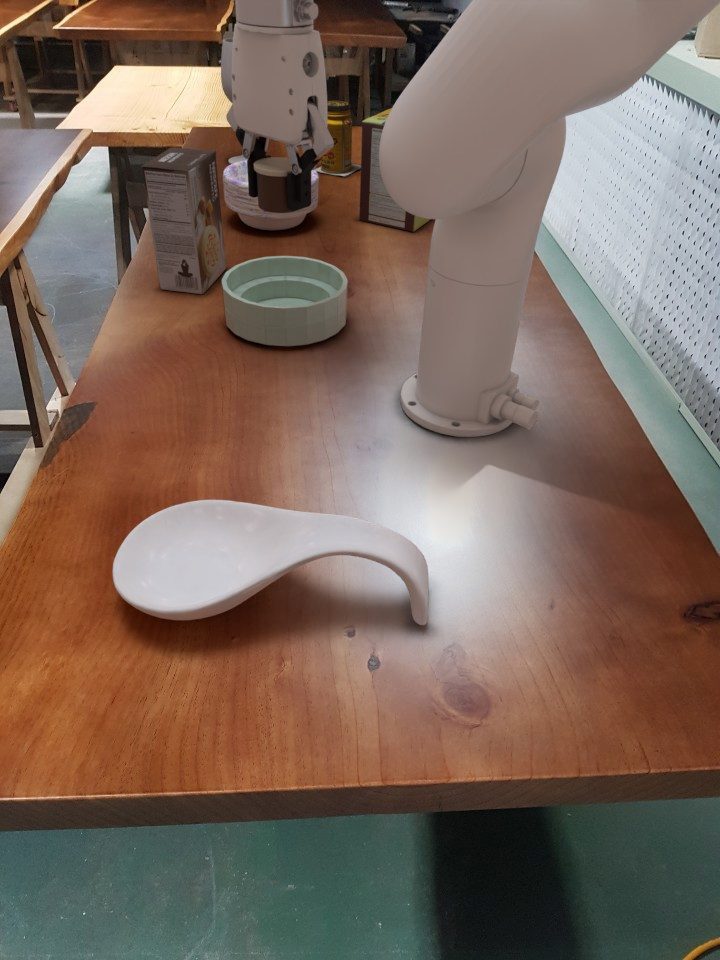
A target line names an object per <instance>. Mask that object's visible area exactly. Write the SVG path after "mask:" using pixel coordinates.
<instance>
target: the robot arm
mask: <svg viewBox="0 0 720 960" xmlns="http://www.w3.org/2000/svg"><path fill="white" fill-rule="evenodd" d="M234 5H235V7H234V8H235V23H234V27H233V36H232V38H233V47H232V99H233V104H232V103H231V105H230V108H229V109H228V111H227V113H226V115H225V116H226V117H225V118H226V121H227V123H228V124H229V126H230V127H231V129H232V131H233V132H234V133H235V137H236V139H237V141H238V142H239V144H240V146H241V147H242V149H241V155H242V154H243V157H244V158H245V159H248V160H247V169H248V188H249V196H250V197H253V198H255V197H258V186H257V172H256V171H255V170H254V163H255V162H256V161H257V160H260V159H264V158H272V155H269V154H267V153H268V150H269V145H270V141H271V140H272V141H276V142H280V143H283V144H284V145H285V150H286V154H287V158H289V163H290V167H291V171H292V172H290V173H287V207H288V210H290V211H293V212H294V211H297V210H300V209H303V208H306V207H309V206H310V205H311V170H315V169H317V166H318V164H319V162H321V159H322V158H323V156H324V155H325V154H326V153H327V152H328V151H330V150H331V149H332V148H333V146H334V141H333V138H332V137H331V135H330V133H329V131H328V129H327V101H328V91H327V74H326V65H325V55H324V50H323V44H322V39H321V33H320V31H319V30H316V29H314V20H317V18H318V16H319V6H318V4H317V3H315V2H314V0H234ZM719 5H720V0H471V1H470V3H469V4H468V5H467V7H466V8H465V10H463V12H462V13H461V15H460V16H458V18H457V19H456V21H455V22H454V23H453V24H452V26H451V28H450V29H449V30H448V31H447V33H446V34H445V35H444V36H443V38H442V39H441V41H439V43H438V44H437V46H436V47H435V48H434V50H433V51H432V52H431V54H430V55H429V56H428V58H427V59H426V60H425V62H424V63H423V64H422V65H421V67H420V68H419V69H418V70H417V72H416V73H415V75H414V76H413V77H412V78H411V80H410V81H409V83H408V84H407V85H406V86H405V88H404V89H403V91H402V92H401V93H400V95H399V96H398V98H397V99H396V101H395V103H394V104H393V106H392V107H391V108H392V109H391V108H390V109H391V111H390V113H389V115H388V117H387V120H386V122H385V125H384V128H383V131H382V135H381V140H380V147H379V166H380V172H381V176H382V180H383V183H384V185H385V188H386V190H387V191H388V193H389V195H390V196H391V198H392V199H393V200H394V201H395V202H396V203H397V204H398V205H399V206H400V207H401V208H402V209H404V210H405V211H407V212H409V213H411V214H413V215H415V216H418V217H422V218H427V219H430V220H435V221H434V224H433V229H432V234H431V238H430V246H429V253H428V263H427V273H426V283H425V292H424V302H423V312H422V322H421V330H420V331H421V333H420V341H419V351H418V361H417V362H418V363H417V372H416V373H413V374H412V375H411V376H409V377H408V378H407V379H406V380H404V382H403V384H402V386H401V389H400V394H399V395H400V396H399V400H400V406H401V408H402V410H403V412H404V413H405V414H406V415H407V417H408V418H410V419H411V420H412V421H413V422H414V423H416V424H417V425H419V426H421V427H422V428H425V429H427V430H429V431H431V432H434V433H438V434H442V435H445V436H452V437H458V438H477V437H485V436H491V435H493V434H496V433H499V432H502V431H503V430H505V429H506V428H508V427H509V426H511V424H512V423H514V424H516V425H518V426H520V427H522V428H524V429H526V430H529V431H530V430H532V429H533V428H534V426H535V424H536V422H537V421H538V418H539V412H538V411H537V408H538V405H539V399H537V398H535V397H533V396H530V395H528V394H524V393H521V392H520V389H519V388H517V387H518V383H519V378H520V374H518V373H515V372H513V371H511V370H512V366H513V359H514V355H515V350H516V344H517V340H518V336H519V329H520V325H521V319H522V313H523V311H524V304H525V299H526V294H527V288H528V284H529V278H530V273H531V270H532V265H533V260H534V255H535V250H536V246H537V242H538V241H537V240H538V237H539V232H540V229H541V224H542V220H543V218H544V213H545V211H546V207H547V204H548V200H549V198H550V195H551V193H552V190H553V187H554V184H555V181H556V178H557V176H558V173H559V169H560V167H561V163H562V160H563V155H564V152H565V146H566V138H567V119H566V117H568V116H571V115H575V114H578V113H582V112H584V111H587V110H590V109H594V108H596V107H599V106H603V105H605V104H607V103H609V102H611V101H613V100H615V99H617V98H619V97H620V96H621V95H622V94H625V93H626V92H627V91H628V90H630V89H631V88H633V86H634V85H635V84H636V83H638V82H639V80H640V79H642V77H644V76H645V74H646V73H647V72H648V71H649V70H650V69H651V68H652V67H653V66H654V65H655V64H657V63H658V62H659V60H660V59H661V58H663V57H664V56H665V55H666V54H667V53H668V52H669V51H670V50H671V49H672V48H673V47H674V46H675V45H676V44H677V43H679V42H680V41H681V40H682V39H683V38H684V37H686V35H687V34H689V33H690V32H691V31H692V30H693V29H694V28H695V27H697V25H698V24H700V22H702V21H703V19H705V18H706V17H707V16H708V15H709V14H710V13H711V12H712V11H713V10H714V9H715V8H717V7H718V6H719ZM312 139H313V142H312ZM299 147H301V152H302V155H300V152H299Z"/></svg>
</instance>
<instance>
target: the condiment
mask: <svg viewBox="0 0 720 960" xmlns="http://www.w3.org/2000/svg"><path fill="white" fill-rule="evenodd" d="M351 107H352V106H351V103H349V102H348V101H343V100H327V129H328V131H329V133H330V135H331V137H332V138H333V141H334V146H333V148H332V149H331V150H330V151H328V152H327V153H326V154H325V155H324V156H323V158H322V159H321V160H320V166H319V167H316V168H315V169H314V170H315V171H316V172H317V173H322V174H328V175H333V176H342V177H347V176H349V175H351V174H352V173H355V172H356V171H357V170H361V164H355V163H352V153H353V151H352V150H353V149H352V146H353V120H352V117H351V116H352V114H351Z"/></svg>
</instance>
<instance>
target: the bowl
mask: <svg viewBox="0 0 720 960" xmlns="http://www.w3.org/2000/svg"><path fill="white" fill-rule="evenodd" d="M348 288H349V280H348V278H347V276H346V273H345V272H344V271H343V270H341V269H340V268H338V266H335V265H334V264H331V263H329V262H326V261H323V260H320V259H317V258H311V257H306V256H294V255H273V256H272V255H271V256H263V257H257V258H253V259H249V260H246V261H243V262H241V263H238V264H236V265H233V266H232V267H231V268H229V269H228V270H227V271H225V273H224V274H223V276H222V278H221V293H222V304H223V305H222V306H223V311H224V312H223V315H224V321H225V325H226V327H227V328H228V329H229V330H230V331H231V332H232V333H233V334H234V335H236V336H238V337H240V338H242V339H244V340H245V341H249V342H253V343H257V344H261V345H265V346H277V347H296V346H306V345H311V344H314V343H318V342H323V341H326V340H327V339H329V338H331V337H334V336H335V335H336V334H337V335H338V333H339V332H341V330H342V329H343V328H344V327H345V326H346V323H347V318H348V293H349V292H348V290H349V289H348Z"/></svg>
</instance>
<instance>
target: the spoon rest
mask: <svg viewBox="0 0 720 960" xmlns="http://www.w3.org/2000/svg"><path fill="white" fill-rule="evenodd" d="M333 556H335V557H336V556H349V557H350V556H351V557H356V558H357V557H358V558H361V559H366V560H369V561H371V562H375V563H377V564H380V565H382V566H384V567H386V568H388V569H389V570H391V571H392V572H394V573H395V575H397V576H398V577H399V578H400V579H401V581H402V582H403V583H404V584H405V587H406V589H407V591H408V595H409V601H410V608H411V615H412V616H411V617H412V619H413V621H414V622H415V623H416V624H418V625H419V626H425V625H427V623H428V618H429V588H430V587H429V585H430V584H429V568H428V567H429V566H428V563H427V559H426V558H425V555H424V553H423V552H422V551H421V550H420V548H419V547H418V546H417V545H416V544H415V543H414V542H412V541H411V539H408V538H407V537H405V535H402V534H400V533H399V532H396V531H394V530H392V529H390V528H388V527H386V526H383V525H381V524H378V523H375V522H372V521H368V520H367V519H362V518H358V517H354V516H349V515H342V514H334V513H323V512H322V513H321V512H312V511H311V512H310V511H301V510H300V511H299V510H294V509H293V510H292V509H286V508H279V507H274V506H268V505H262V504H257V503H250V502H243V501H236V500H228V499H227V500H226V499H200V500H193V501H186V502H182V503H178V504H175V505H171V506H169V507H167V508H163V509H161V510H160V511H157V512H155V513H153V514H152V515H150V516H148V517H146V518H145V519H144V520H142V521H141V522H140V523H139V524H137V525H136V526H135V527H134V528H133V529H132V530H131V531H130V532H129V533H128V534H127V535H126V537H125V538H124V540H123V541H122V543H121V545H120V546H119V547H118V549H117V552H116V554H115V557H114V558H113V563H112V581H113V586H114V588H115V590H116V592H117V593H118V594H119V596H120V597H121V598H122V600H124V601H125V602H126V603H127V604H129V605H130V606H132V607H133V608H135V609H136V610H139V611H140V612H142V613H144V614H146V615H150V616H152V617H156V618H159V619H164V620H169V621H170V620H171V621H194V620H201V619H202V620H203V619H205V618H209V617H214V616H217V615H220V614H222V613H225V612H227V611H229V610H232V609H234V608H235V607H237V606H239V605H241V604H242V603H243V602H245V601H247V600H248V599H250V598H251V597H253V596H255V595H256V594H257V593H259V592H260V591H262V590H263V589H265V588H266V587H268V586H269V585H271V584H273V583H274V582H275V581H277V580H279V579H280V578H282V577H283V576H285V575H287V574H288V573H290V572H292V571H295V570H296V569H298V568H300V567H301V566H305V565H306V564H308V563H310V562H314V561H316V560H320V559H322V558H328V557H333Z"/></svg>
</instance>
